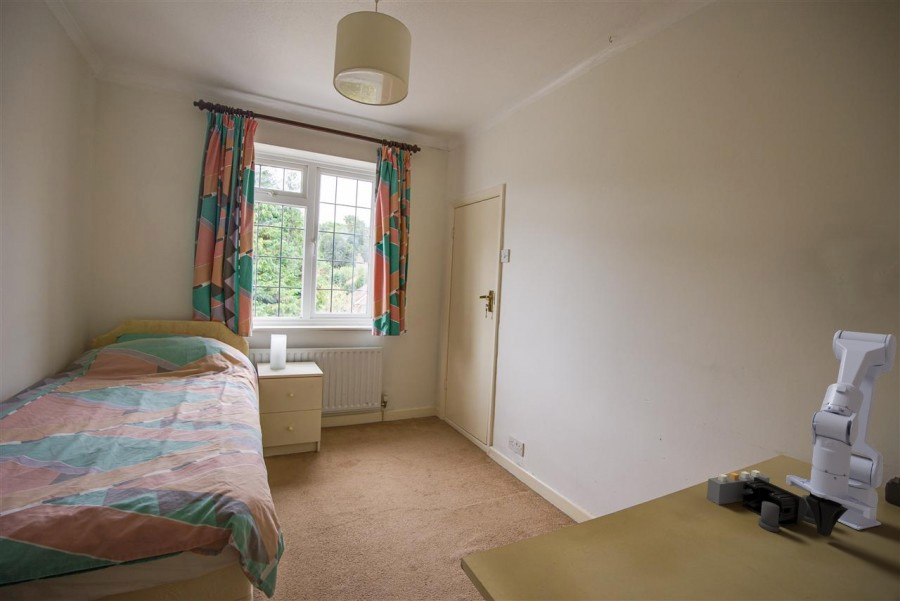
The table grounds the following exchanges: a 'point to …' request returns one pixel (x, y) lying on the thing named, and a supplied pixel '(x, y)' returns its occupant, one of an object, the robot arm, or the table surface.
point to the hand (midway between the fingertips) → (823, 533)
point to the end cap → (775, 501)
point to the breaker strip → (731, 486)
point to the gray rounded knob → (769, 517)
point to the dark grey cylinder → (808, 513)
